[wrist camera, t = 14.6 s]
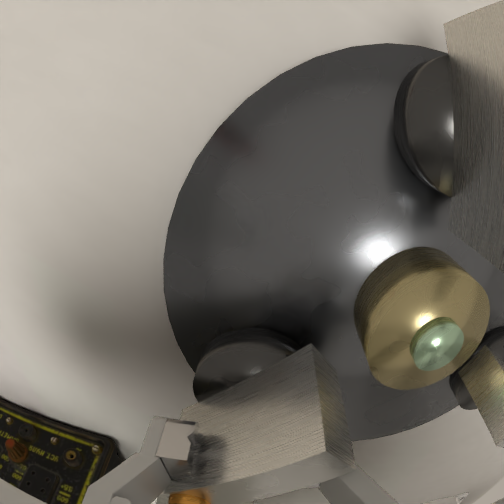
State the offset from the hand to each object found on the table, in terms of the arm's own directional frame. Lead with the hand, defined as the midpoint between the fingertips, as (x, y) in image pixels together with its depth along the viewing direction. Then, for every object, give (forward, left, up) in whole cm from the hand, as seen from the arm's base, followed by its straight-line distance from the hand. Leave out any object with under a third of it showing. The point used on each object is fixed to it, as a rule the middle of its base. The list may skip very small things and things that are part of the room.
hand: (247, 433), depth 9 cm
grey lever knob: (+6, -10, -3) cm, 12 cm away
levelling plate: (0, -7, -5) cm, 8 cm away
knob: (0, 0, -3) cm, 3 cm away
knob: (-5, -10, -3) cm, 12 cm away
